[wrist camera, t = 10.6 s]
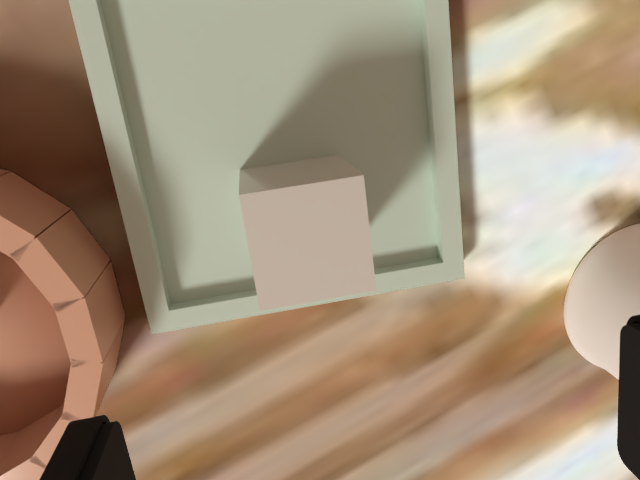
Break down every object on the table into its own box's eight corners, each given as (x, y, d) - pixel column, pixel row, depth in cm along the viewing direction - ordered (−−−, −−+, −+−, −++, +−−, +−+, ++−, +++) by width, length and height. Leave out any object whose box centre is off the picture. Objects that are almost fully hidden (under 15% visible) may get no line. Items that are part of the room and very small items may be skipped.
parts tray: (66, -42, 22) (56, -49, 21) (432, -85, 23) (443, -94, 22) (155, 322, 27) (151, 334, 26) (454, 269, 28) (464, 278, 27)
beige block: (239, 169, 25) (238, 195, 20) (338, 154, 25) (363, 175, 20) (256, 263, 26) (259, 311, 21) (350, 247, 27) (376, 290, 21)
